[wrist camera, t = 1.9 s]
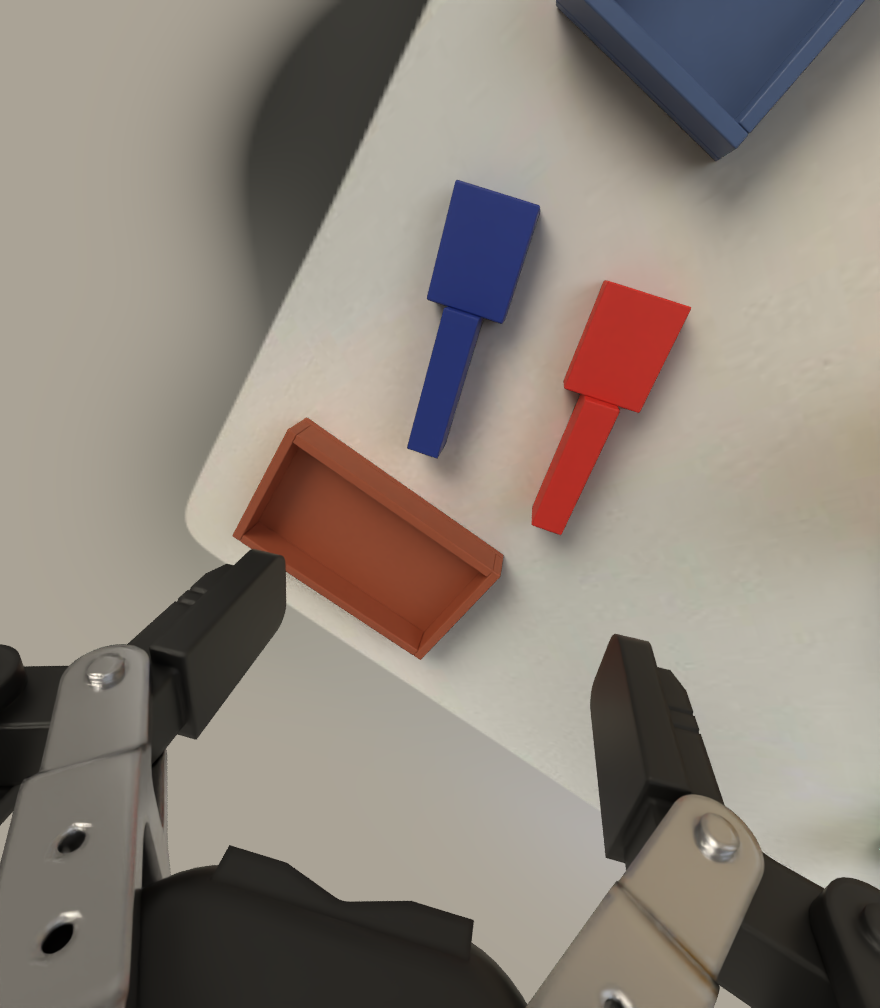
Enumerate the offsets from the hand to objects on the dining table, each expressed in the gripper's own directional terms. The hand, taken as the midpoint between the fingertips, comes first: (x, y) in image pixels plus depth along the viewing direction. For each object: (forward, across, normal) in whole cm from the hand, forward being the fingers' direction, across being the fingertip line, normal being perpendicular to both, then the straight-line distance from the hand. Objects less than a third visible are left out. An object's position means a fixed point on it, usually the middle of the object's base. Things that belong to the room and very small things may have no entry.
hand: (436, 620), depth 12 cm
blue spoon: (+18, +3, -4) cm, 19 cm away
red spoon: (+18, -5, -1) cm, 19 cm away
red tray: (+18, +7, +10) cm, 22 cm away
